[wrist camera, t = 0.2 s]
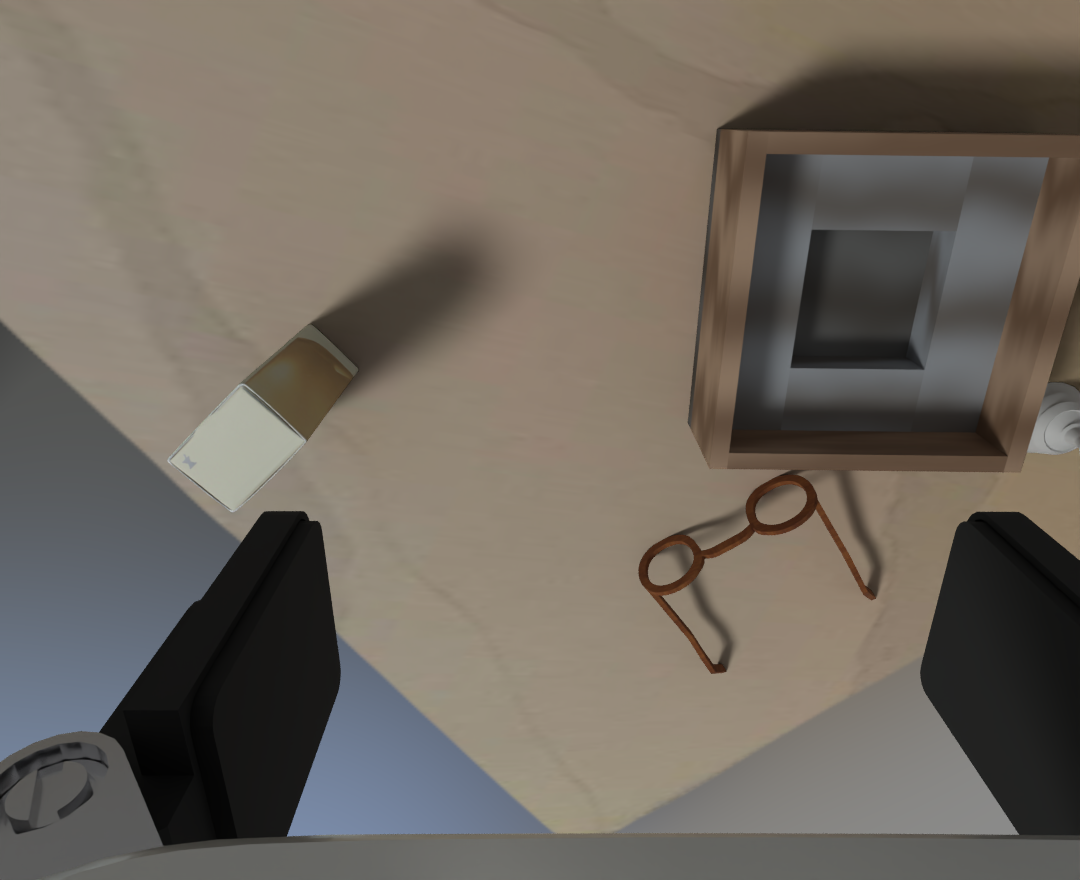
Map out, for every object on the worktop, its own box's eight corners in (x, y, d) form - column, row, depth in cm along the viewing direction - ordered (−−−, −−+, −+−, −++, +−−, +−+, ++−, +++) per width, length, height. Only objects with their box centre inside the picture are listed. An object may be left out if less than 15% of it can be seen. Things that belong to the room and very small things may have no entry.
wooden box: (717, 128, 42) (748, 131, 36) (1033, 133, 42) (1122, 136, 36) (688, 422, 49) (709, 468, 43) (958, 426, 49) (1020, 472, 43)
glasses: (795, 461, 51) (820, 496, 46) (874, 593, 55) (903, 636, 51) (631, 553, 54) (640, 593, 49) (718, 671, 58) (733, 718, 54)
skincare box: (300, 428, 50) (229, 520, 38) (248, 383, 48) (159, 464, 37) (364, 366, 48) (310, 443, 37) (312, 317, 47) (239, 382, 35)
